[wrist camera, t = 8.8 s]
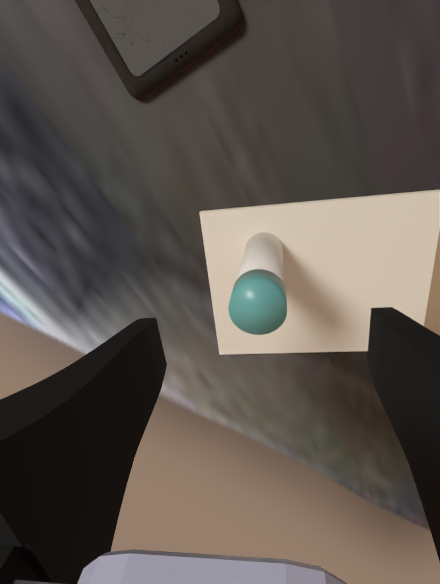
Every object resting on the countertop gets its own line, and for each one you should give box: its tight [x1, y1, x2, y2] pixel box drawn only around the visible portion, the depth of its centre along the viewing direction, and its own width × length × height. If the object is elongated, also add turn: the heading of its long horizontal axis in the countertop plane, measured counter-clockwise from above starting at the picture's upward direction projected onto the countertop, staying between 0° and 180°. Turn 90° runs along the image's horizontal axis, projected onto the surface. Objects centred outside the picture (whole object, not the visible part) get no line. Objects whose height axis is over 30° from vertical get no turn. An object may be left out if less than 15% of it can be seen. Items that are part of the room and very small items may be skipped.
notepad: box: [200, 190, 440, 355], centre depth 21 cm, size 14×10×1 cm
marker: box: [228, 232, 287, 335], centre depth 17 cm, size 2×2×7 cm
